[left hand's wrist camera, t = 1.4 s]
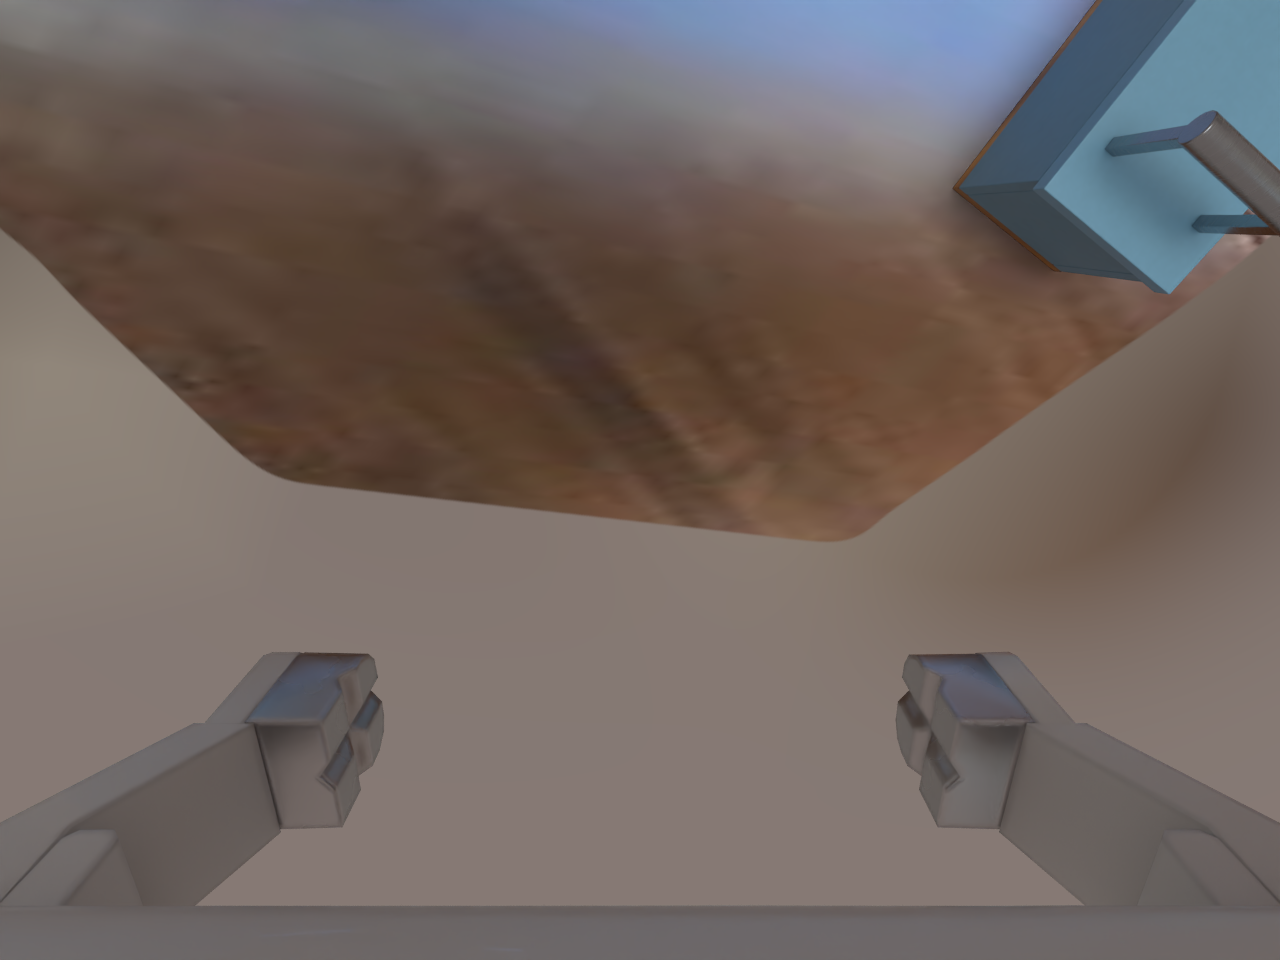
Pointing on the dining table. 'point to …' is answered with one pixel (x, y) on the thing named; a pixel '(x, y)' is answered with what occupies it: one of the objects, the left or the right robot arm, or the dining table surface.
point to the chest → (1061, 134)
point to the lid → (1181, 144)
